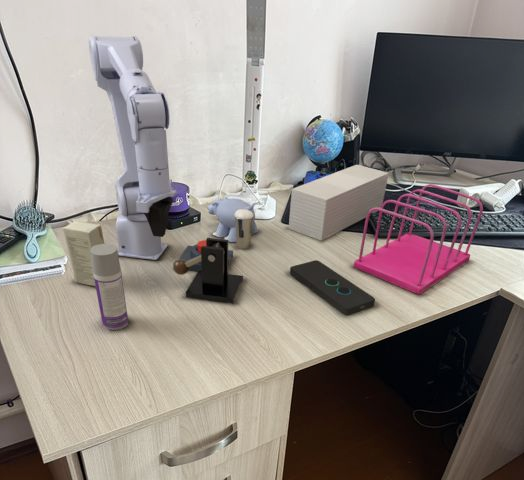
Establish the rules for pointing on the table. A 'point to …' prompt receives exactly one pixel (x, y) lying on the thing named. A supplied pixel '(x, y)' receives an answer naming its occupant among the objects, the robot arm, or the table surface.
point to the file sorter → (416, 247)
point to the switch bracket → (215, 275)
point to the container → (109, 286)
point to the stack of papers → (336, 201)
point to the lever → (189, 262)
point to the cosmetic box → (82, 248)
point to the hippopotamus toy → (229, 216)
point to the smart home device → (332, 287)
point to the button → (200, 244)
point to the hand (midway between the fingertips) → (159, 235)
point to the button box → (193, 252)
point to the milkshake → (243, 227)
